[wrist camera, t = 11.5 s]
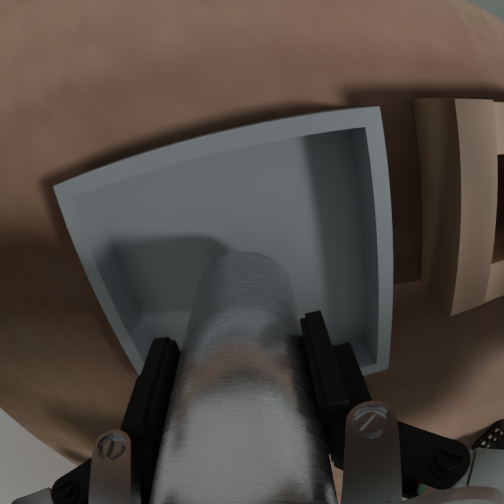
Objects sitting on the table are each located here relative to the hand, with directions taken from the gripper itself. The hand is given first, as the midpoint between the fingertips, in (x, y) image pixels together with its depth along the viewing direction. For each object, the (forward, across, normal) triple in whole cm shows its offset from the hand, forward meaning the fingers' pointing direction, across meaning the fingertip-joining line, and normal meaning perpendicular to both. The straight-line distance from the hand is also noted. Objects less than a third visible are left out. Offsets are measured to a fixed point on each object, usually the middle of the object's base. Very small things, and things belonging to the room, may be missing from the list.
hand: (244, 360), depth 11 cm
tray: (+7, 0, 0) cm, 7 cm away
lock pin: (+4, 0, 0) cm, 4 cm away
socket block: (+7, -16, -2) cm, 18 cm away
